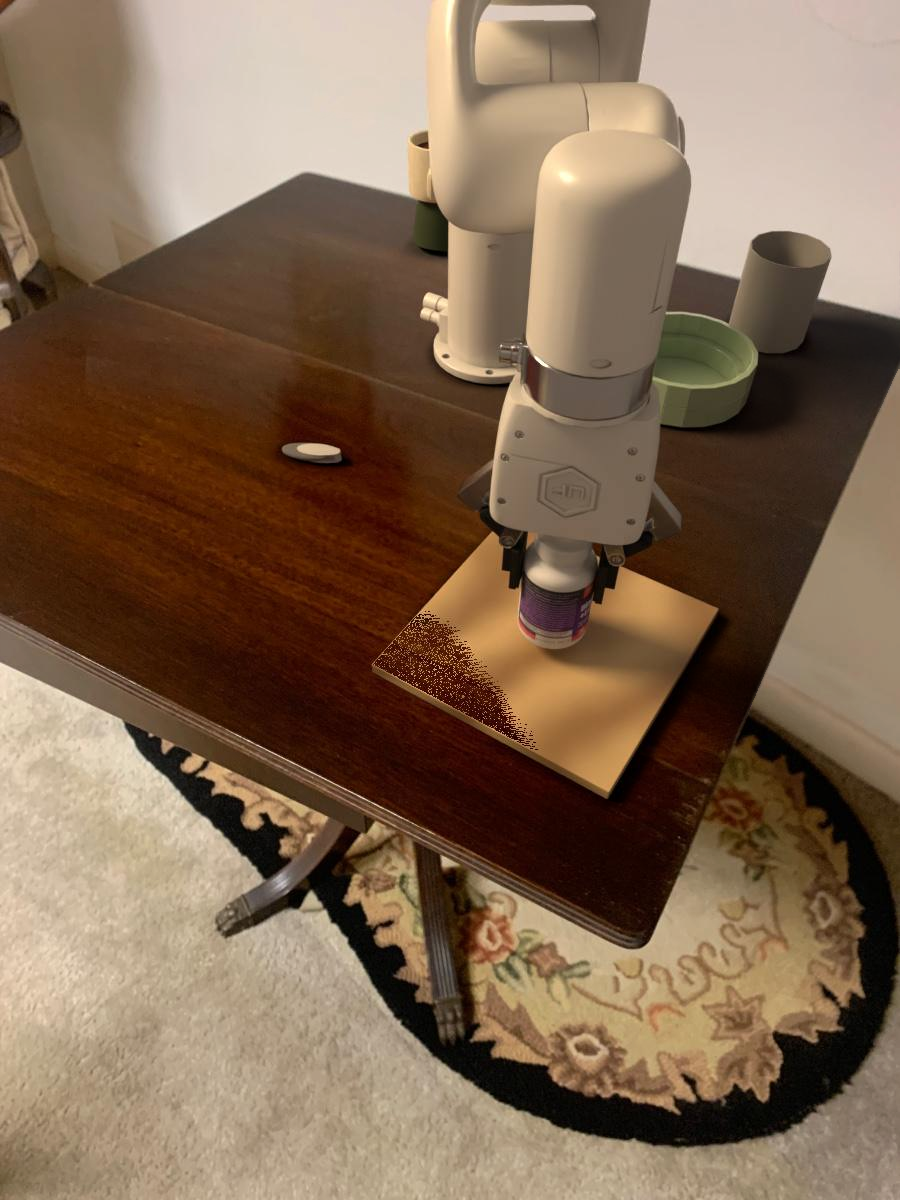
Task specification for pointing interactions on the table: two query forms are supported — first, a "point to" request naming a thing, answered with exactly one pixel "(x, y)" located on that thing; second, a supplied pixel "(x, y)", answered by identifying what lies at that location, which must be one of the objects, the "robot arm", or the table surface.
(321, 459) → the oval pebble
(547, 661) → the mat
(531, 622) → the pill bottle
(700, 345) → the bowl
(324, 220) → the table surface
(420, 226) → the character mug
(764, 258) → the cup
